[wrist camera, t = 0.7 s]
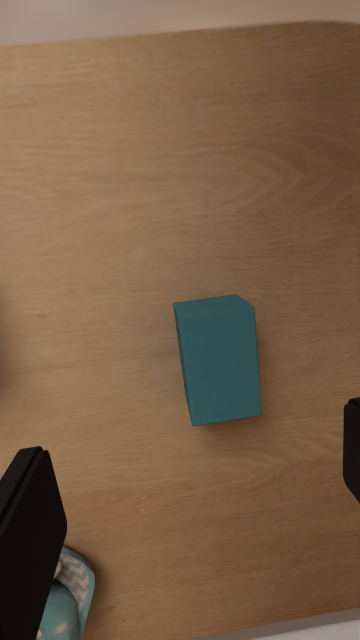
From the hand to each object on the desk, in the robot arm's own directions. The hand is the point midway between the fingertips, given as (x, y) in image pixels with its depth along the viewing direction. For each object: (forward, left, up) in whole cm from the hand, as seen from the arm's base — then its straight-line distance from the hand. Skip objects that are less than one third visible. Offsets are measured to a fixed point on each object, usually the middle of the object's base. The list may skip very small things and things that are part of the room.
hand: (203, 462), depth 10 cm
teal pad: (+2, +3, -16) cm, 16 cm away
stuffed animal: (+22, -15, -16) cm, 31 cm away
